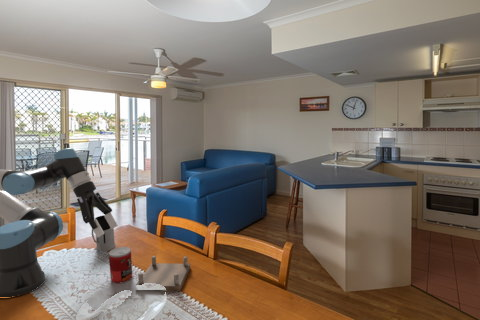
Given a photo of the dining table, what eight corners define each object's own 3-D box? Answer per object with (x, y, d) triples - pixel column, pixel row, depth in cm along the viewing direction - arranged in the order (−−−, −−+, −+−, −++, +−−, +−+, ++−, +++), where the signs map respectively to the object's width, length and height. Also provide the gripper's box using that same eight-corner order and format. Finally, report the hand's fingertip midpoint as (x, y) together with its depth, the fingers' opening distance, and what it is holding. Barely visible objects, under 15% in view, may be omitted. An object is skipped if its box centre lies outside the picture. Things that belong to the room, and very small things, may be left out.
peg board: (135, 290, 99) (134, 276, 99) (152, 267, 115) (151, 255, 114) (179, 291, 98) (179, 276, 98) (190, 268, 114) (189, 255, 114)
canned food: (125, 284, 103) (123, 256, 102) (106, 282, 105) (103, 254, 103) (136, 273, 111) (135, 247, 109) (118, 272, 112) (116, 245, 111)
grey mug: (119, 243, 139) (117, 214, 138) (103, 256, 125) (101, 224, 124) (102, 243, 140) (100, 214, 138) (84, 256, 126) (82, 224, 124)
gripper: (74, 182, 99) (103, 234, 99) (103, 178, 124) (127, 220, 124) (54, 192, 98) (84, 245, 99) (88, 186, 123) (111, 228, 123)
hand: (108, 231), depth 111 cm, fingers open, 13 cm apart
